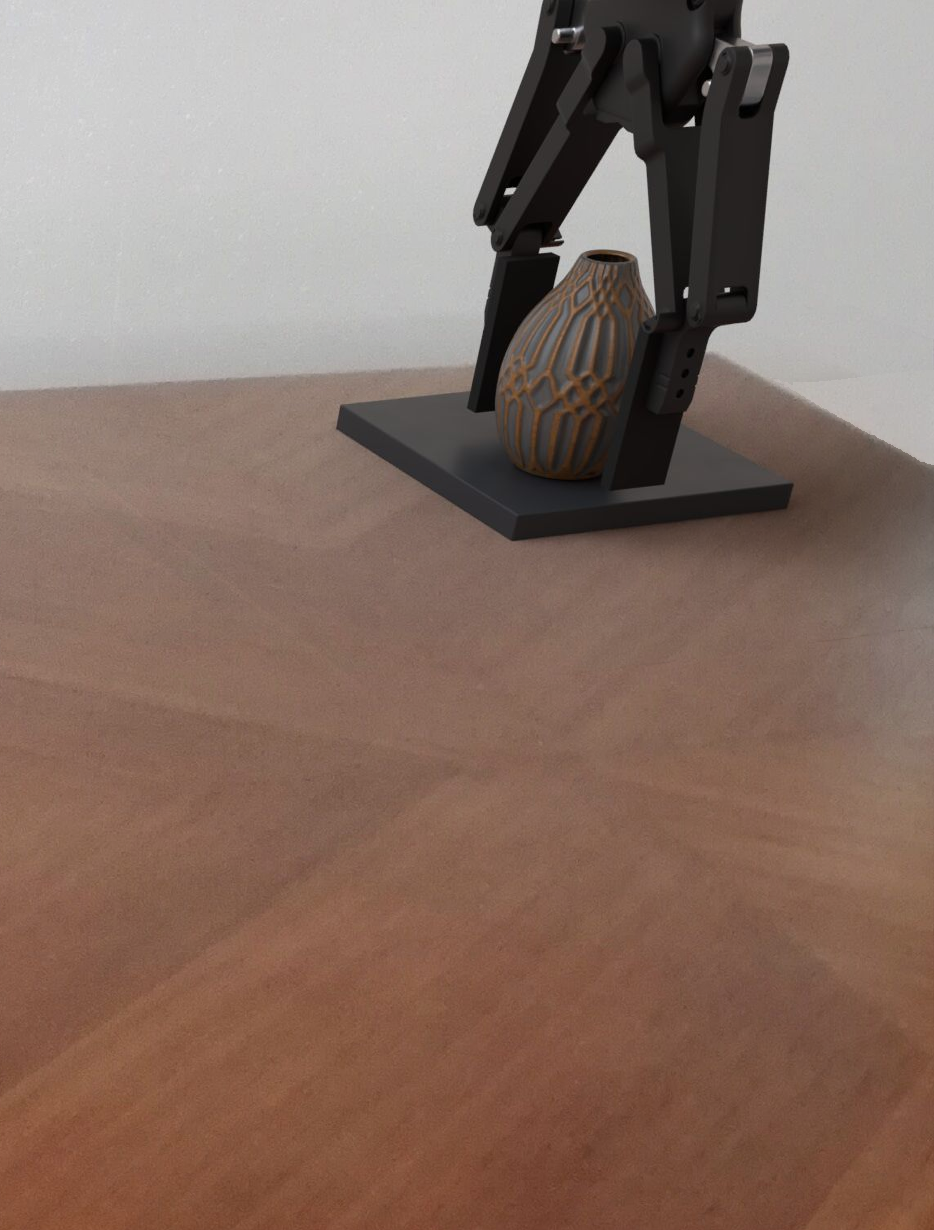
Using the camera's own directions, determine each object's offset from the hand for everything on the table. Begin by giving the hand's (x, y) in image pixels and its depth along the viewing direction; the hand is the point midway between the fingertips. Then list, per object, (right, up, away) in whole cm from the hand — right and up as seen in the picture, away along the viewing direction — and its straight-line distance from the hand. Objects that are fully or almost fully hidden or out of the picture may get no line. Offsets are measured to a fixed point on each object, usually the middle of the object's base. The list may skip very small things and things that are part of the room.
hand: (561, 445), depth 111 cm
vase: (0, -1, +1) cm, 1 cm away
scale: (+1, +1, +4) cm, 4 cm away
